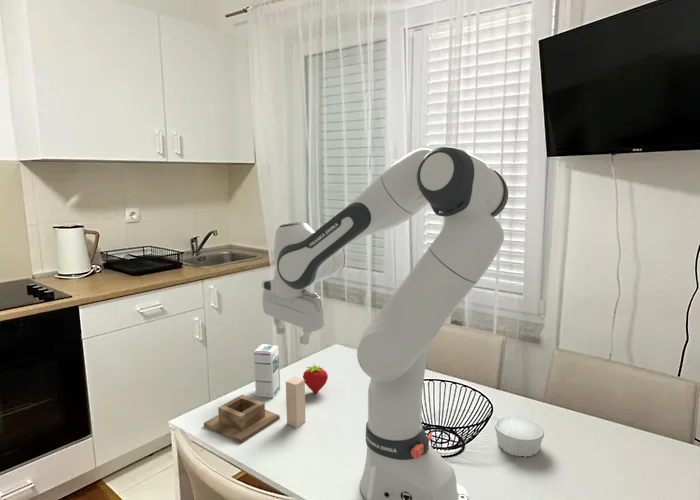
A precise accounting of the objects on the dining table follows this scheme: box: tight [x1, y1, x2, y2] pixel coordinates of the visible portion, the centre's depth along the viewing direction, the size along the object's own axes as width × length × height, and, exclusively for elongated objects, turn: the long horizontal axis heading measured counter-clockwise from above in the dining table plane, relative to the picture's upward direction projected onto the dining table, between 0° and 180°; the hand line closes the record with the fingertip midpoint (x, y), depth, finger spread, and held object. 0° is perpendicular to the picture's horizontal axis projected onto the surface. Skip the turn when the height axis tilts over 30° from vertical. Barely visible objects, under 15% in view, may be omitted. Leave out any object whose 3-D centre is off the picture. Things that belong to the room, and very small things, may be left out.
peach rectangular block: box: [285, 376, 306, 428], centre depth 125 cm, size 4×4×12 cm
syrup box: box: [253, 343, 281, 399], centre depth 141 cm, size 6×6×14 cm
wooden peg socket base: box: [203, 394, 281, 444], centre depth 126 cm, size 14×14×5 cm
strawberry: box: [302, 363, 329, 394], centre depth 141 cm, size 6×8×10 cm
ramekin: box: [494, 415, 545, 458], centre depth 115 cm, size 11×11×5 cm
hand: (292, 338), depth 121 cm, fingers open, 8 cm apart
